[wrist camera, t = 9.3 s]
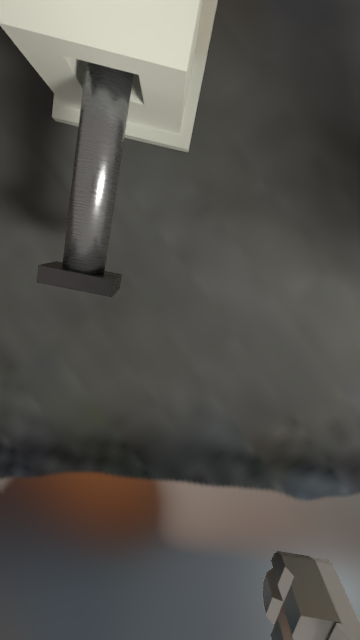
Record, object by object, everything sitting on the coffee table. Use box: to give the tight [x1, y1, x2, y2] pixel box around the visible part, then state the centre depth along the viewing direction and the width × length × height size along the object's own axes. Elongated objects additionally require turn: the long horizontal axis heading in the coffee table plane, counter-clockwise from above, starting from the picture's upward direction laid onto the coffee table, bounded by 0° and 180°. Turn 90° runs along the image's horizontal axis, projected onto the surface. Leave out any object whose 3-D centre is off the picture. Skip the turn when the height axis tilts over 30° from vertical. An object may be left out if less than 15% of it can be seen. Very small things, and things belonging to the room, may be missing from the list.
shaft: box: [37, 62, 134, 297], centre depth 22 cm, size 19×5×4 cm, turn 168°
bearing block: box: [0, 0, 218, 153], centre depth 21 cm, size 12×12×12 cm
